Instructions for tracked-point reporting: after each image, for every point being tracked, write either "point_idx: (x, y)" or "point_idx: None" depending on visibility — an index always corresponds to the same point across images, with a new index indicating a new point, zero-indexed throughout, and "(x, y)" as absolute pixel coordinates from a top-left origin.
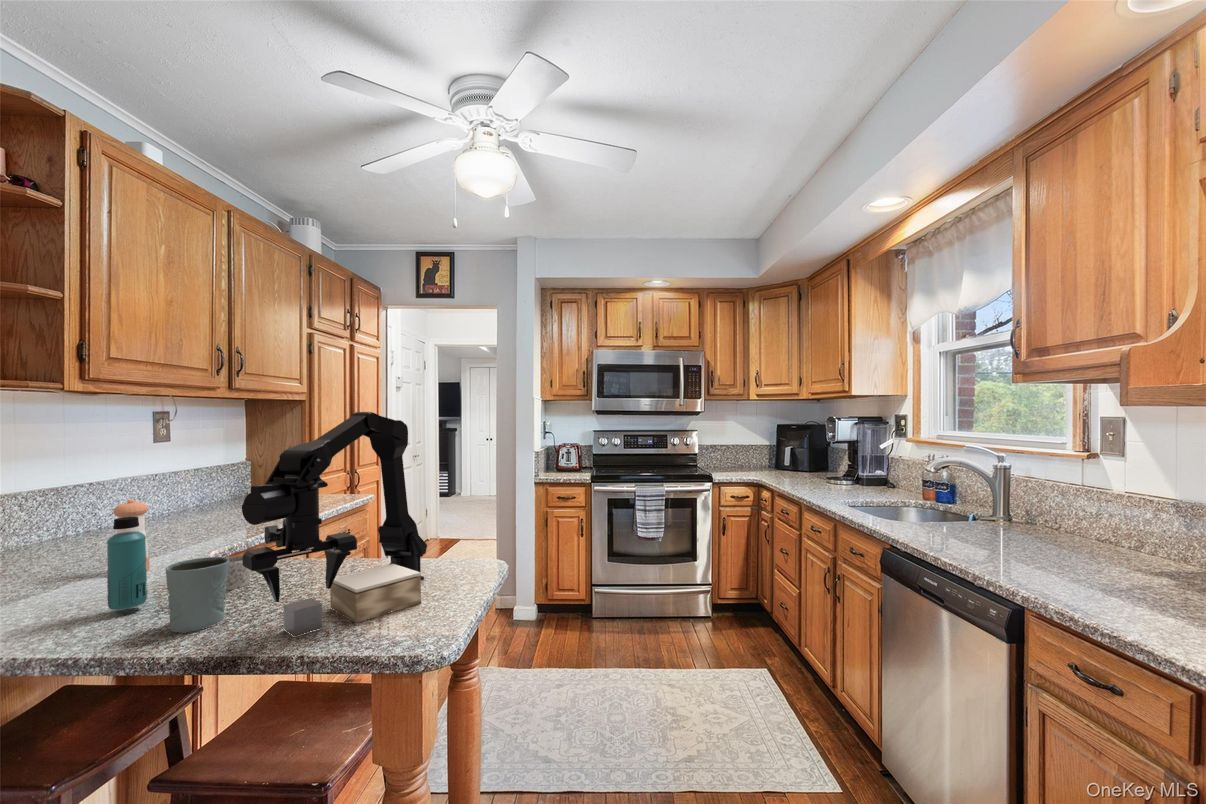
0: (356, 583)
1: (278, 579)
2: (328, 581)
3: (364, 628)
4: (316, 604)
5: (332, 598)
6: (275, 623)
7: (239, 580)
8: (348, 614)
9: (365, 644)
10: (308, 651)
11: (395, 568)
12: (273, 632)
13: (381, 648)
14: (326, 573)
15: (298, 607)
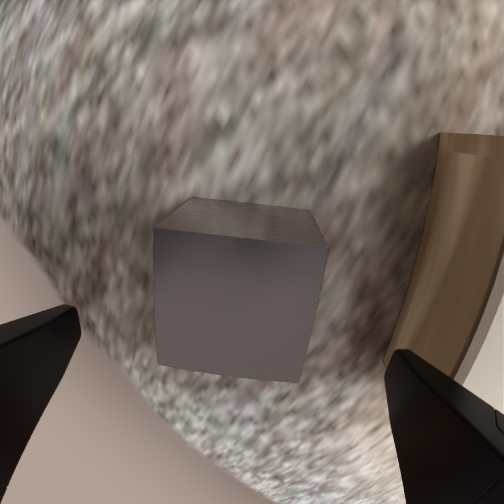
0: (498, 379)
1: (7, 475)
2: (396, 415)
3: (359, 406)
4: (273, 377)
5: (465, 158)
6: (209, 76)
7: None
8: (408, 312)
9: (286, 467)
10: (179, 412)
11: None
12: (158, 178)
13: (290, 489)
14: (441, 414)
15: (192, 341)
